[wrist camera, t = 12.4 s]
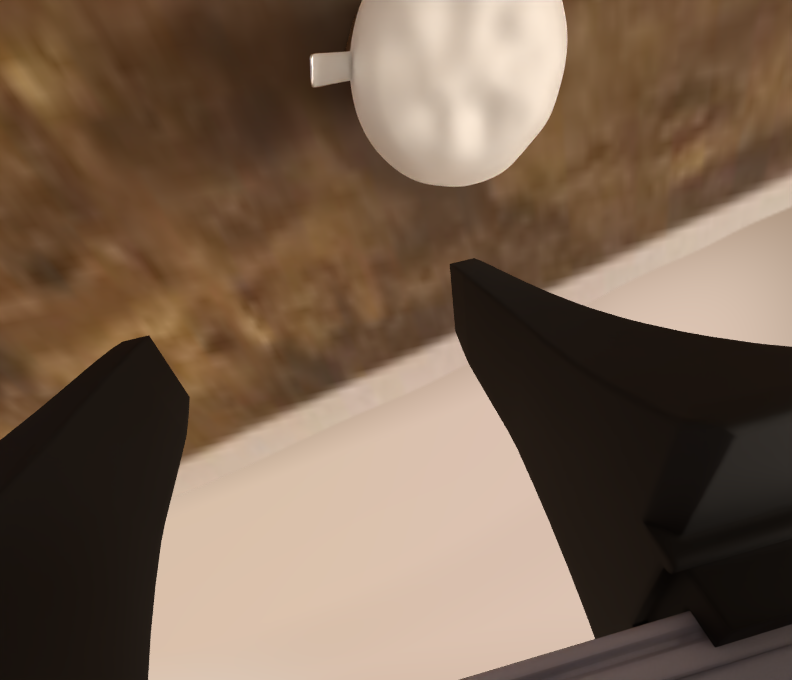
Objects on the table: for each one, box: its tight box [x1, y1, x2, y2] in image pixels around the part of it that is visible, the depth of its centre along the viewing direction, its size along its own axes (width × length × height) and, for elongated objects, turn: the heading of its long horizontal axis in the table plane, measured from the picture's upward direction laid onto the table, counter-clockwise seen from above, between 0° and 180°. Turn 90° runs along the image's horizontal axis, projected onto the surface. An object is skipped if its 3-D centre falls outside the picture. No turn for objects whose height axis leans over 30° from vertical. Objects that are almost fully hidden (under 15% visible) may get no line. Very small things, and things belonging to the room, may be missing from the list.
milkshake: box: [310, 0, 567, 187], centre depth 11 cm, size 4×5×10 cm
